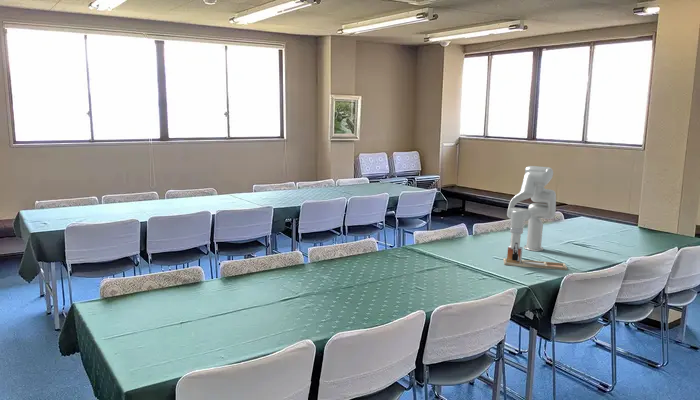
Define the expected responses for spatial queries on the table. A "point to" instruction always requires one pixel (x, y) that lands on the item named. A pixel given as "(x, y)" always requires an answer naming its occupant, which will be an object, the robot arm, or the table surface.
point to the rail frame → (538, 264)
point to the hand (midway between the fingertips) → (514, 258)
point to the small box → (510, 252)
